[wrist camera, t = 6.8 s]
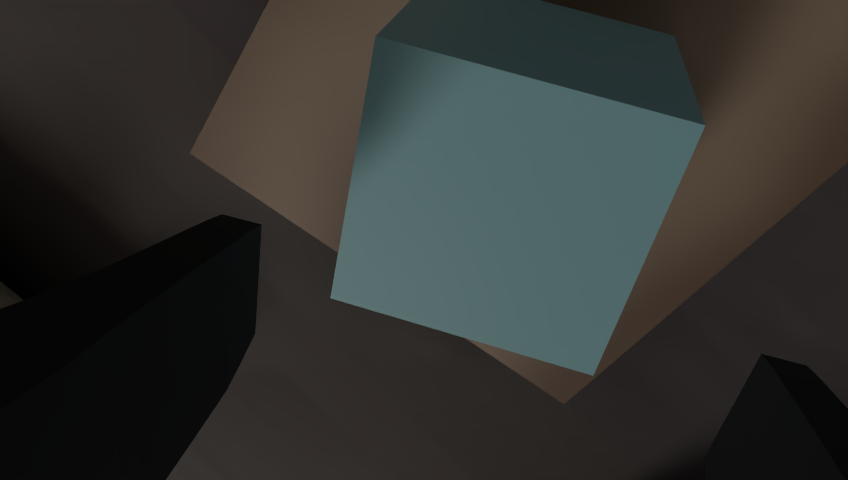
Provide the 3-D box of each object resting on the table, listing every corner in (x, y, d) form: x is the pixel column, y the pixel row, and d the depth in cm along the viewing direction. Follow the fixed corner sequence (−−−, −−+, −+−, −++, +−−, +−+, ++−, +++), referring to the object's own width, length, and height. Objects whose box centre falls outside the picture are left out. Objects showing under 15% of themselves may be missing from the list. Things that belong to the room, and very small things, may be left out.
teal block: (674, 35, 15) (706, 125, 11) (594, 239, 17) (593, 375, 13) (437, -27, 15) (375, 35, 11) (393, 182, 18) (330, 298, 14)
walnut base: (917, 27, 16) (966, 61, 14) (566, 347, 22) (563, 404, 20) (477, -337, 14) (457, -363, 12) (231, 118, 21) (189, 153, 19)
